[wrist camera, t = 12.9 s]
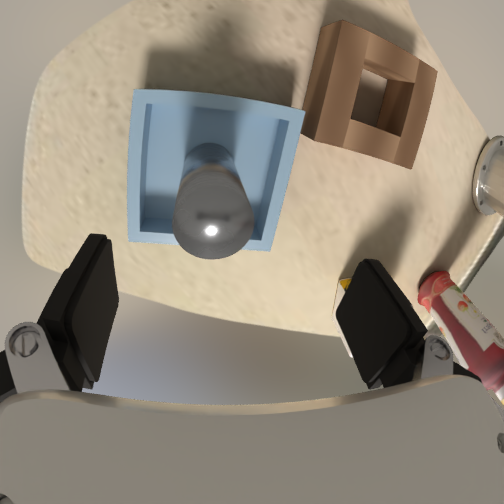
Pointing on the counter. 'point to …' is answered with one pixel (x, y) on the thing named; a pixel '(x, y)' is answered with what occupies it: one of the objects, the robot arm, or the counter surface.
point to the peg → (211, 205)
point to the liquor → (465, 330)
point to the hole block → (345, 89)
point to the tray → (198, 132)
